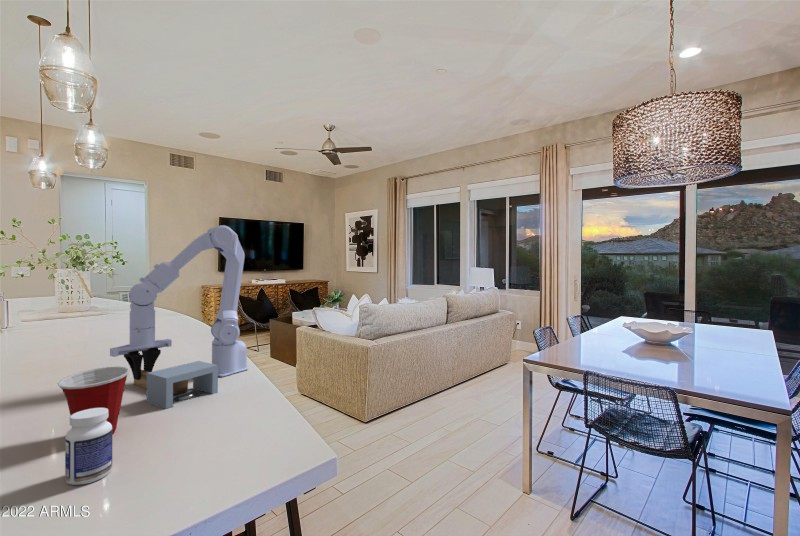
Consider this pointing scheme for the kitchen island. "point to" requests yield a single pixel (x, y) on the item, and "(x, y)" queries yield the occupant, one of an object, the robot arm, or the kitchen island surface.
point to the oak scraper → (176, 386)
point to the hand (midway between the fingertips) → (142, 377)
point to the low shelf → (164, 379)
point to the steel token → (183, 395)
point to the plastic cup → (96, 391)
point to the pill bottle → (88, 447)
